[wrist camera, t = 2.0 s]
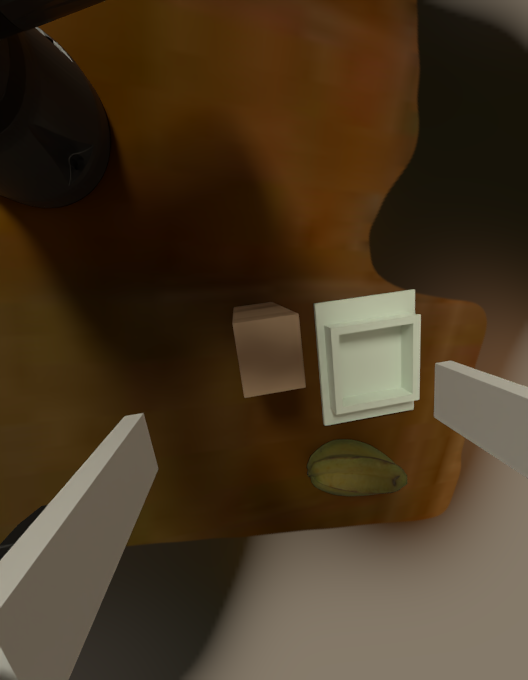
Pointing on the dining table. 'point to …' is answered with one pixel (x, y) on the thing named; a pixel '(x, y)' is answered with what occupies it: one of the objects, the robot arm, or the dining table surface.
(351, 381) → the holder plate
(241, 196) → the dining table surface
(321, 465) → the fruit
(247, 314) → the wooden square post
